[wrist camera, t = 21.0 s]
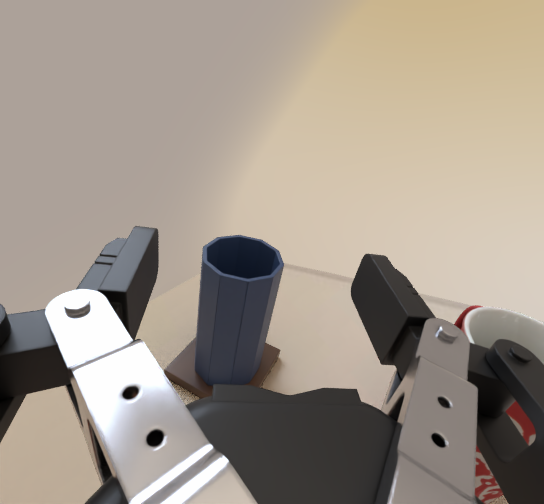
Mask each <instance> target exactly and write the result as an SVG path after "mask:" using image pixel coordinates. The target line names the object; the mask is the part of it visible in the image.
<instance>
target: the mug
mask: <svg viewBox="0 0 544 504" xmlns="http://www.w3.org/2000/svg"><path fill="white" fill-rule="evenodd" d="M454 325H455V326H457V327H458V328H459V329H460V330H462V331H463V332H464V333H465V335H466V336H467V337H468V339H469V342H470V343H473V344H476V345H480V346H483V347H486V348H489V349H490V347H491V346H492V345H493V344H494V342H495V341H496V340H498V339H506V340H510V341H513V342H516V343H518V344H520V345H522V346H523V347H525V348H527V349H528V350H529V351H531V352H532V353H533V354H534V355H535V356H536V357H537V358H538V359H539V360H540V361H541V362H542V363H543V364H544V323H543V322H541V321H539V320H536V319H534V318H532V317H529V316H527V315H524V314H521V313H518V312H514V311H511V310H508V309H503V308H497V307H483V306H470V307H468V308H467V309H466V310H465V311H464V312H463V313H462V314H461V315H460V316H459V317H458V319H457V321H456V322H455V324H454ZM506 413H507V414H508V416H509V417H510V419H511V420H512V421H513V423H514V424H515V426H516V427H517V429H518V430H519V432H520V433H521V435H522V436H523V438H524V439H525V441H526V442H527V444H528V445H529V446H530V445H531V444H532V443H533V442H534V440H535V438H536V432H535V428H534V426H533V424H532V422H531V421H530V419H529V418H528V417H527V415H526V414H525V413H524V411H523V410H522V408H521V407H520V406H519V404H518V403H517V402H516V401H515V402H514V403H513V404H512V405H511V406H510V407H509V408H508V409H507V410H506ZM475 495H476V496H477V497H478V498H479V499H480V500H481V501H482V502H483V503H484V504H489V503H491V502H493V501H494V500H496V499H497V498H499V497H500V496H502V495H504V494H503V493H502V491H501V489H500V487H499V485H498V483H497V482H496V480H495V478H494V476H493V474H492V472H491V471H490V469H489V467H488V465H487V463H486V461H485V460H484V458H483V456H482V454H481V452H480V450H479V449H478V447H477V445H476V470H475Z"/></svg>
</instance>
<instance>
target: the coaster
mask: <svg viewBox="0 0 544 504" xmlns="http://www.w3.org/2000/svg"><path fill="white" fill-rule="evenodd" d="M195 347H196V338H195V339H194V340H193V341H192V342H191V343H190V344H189V345H188V346H187V347H186V348H185V349H184V350H183V351H182V352H181V353H180V354H179V355H178V356H177V357H176V358H175V359H174V360H173V361H172V362H171V363H170V364H169V366H168V367H167V368H166V369H165V370H164V374H165V375H166V377H167V378H168V379H169V380H171V381H173V382H174V383H176V384H178V385H180V386H181V387H183V388H185V389H186V390H188V391H190V392H191V393H193V394H195V395H197V396H198V397H200V398H205V397H209V396H212V391H213V386H211V385H208V384H207V383H206V382H205V381H204V380H203V379H202V378H201V377H200V375H199V374H198V373H197V372H196V371H195ZM279 353H280V350H279V349H277V348H275V347H273V346H271V345H269V344H267V343H265V346H264V350H263V354H262V358H261V362H260V366H259V369H258V370H257V372H256V373H255V375H254V376H253V378H252V380H251V381H250V382H249V383H247V384H244V385H252V386H255V387H259V388H260V387H261V385H262V384H263V382H264V380H265V379H266V377H267V375H268V373H269V372H270V370H271V368H272V367H273V365H274V363H275V362H276V360H277V358H278V356H279Z"/></svg>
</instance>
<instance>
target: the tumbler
mask: <svg viewBox="0 0 544 504" xmlns="http://www.w3.org/2000/svg"><path fill="white" fill-rule="evenodd" d="M283 267H284V263H283V261H282V258H281V255H280V253H279V251H278V250H277V249H275V248H274V247H272V246H271V245H269V244H267V243H266V242H264V241H263V240H260V239H255V238H251V237H246V236H242V235H235V236H225V237H217V238H216V239H214V240H213V241H211V242H210V243H208V244H207V245H205V246H204V247H203V254H202V267H201V280H200V294H199V307H198V320H197V333H196V347H195V371H196V372H197V373H198V374H199V375H200V377H201V378H202V379H203V380H204V381H205V382H206V383H207V384H208V385H211V386H213V384H232V385H244V384H247V383H249V382H250V381H251V380H252V378H253V376H254V375H255V373H256V372H257V370H258V369H259V366H260V362H261V358H262V354H263V350H264V346H265V341H266V337H267V333H268V329H269V325H270V321H271V317H272V312H273V308H274V304H275V300H276V296H277V292H278V288H279V284H280V279H281V275H282V271H283Z"/></svg>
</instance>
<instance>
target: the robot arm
mask: <svg viewBox="0 0 544 504" xmlns="http://www.w3.org/2000/svg"><path fill="white" fill-rule="evenodd" d="M157 274H158V229H156V228H149V227H140V226H135V227H134V229H133V230H132V232H131V233H130V235H129V237H128V238H127V239H124V238H117V239H115V240H113V241H112V242H110V243H108V244H107V245H106V246H105V247H104V249H103V250H102V252H101V253H100V256H98V258H97V259H96V261H95V263H94V264H93V265H92V266H91V268H90V269H89V271H88V272H87V274H86V275H85V277H84V278H83V280H82V281H81V283H80V284H79V286H78V287H77V288H76V290H73V291H69V292H66V293H64V294H61V295H59V296H57V297H56V298H54V299H53V300H52V301H51V302H50V303H49V304H48V306H47V308H46V309H43V310H37V311H30V312H23V313H16V314H8V315H7V314H6V311H5V308H4V307H3V306H2V305H1V304H0V442H1V441H2V439H3V437H4V435H5V433H6V431H7V430H8V428H9V426H10V424H11V422H12V420H13V418H14V417H15V415H16V413H17V411H18V409H19V407H20V406H21V404H22V402H23V400H24V398H25V396H26V394H29V393H33V392H38V391H42V390H46V389H51V388H55V387H60V386H65V388H66V391H67V393H68V396H69V398H70V401H71V404H72V406H73V409H74V411H75V414H76V416H77V419H78V421H79V424H80V427H81V429H82V432H83V434H84V437H85V440H86V443H87V446H88V449H89V452H90V455H91V458H92V461H93V464H94V466H95V469H96V472H97V474H98V477H99V480H100V482H101V485H102V486H101V487H100V488H99V489H98V490H97V491H96V492H95V493H94V494H93V495H92V496H91V497H90V498H89V499H88V501H87V502H86V503H85V504H484V503H483V502H482V501H481V500H480V499H479V498H478V497H477V496H476V495H475V470H476V445H477V447H478V449H479V450H480V452H481V454H482V456H483V458H484V460H485V461H486V463H487V465H488V467H489V469H490V471H491V472H492V474H493V476H494V478H495V480H496V482H497V483H498V485H499V487H500V489H501V491H502V493H503V494H504V496H505V498H506V500H507V502H508V504H544V364H543V363H542V362H541V361H540V360H539V359H538V358H537V357H536V356H535V355H534V354H533V353H532V352H531V351H529V350H528V349H527V348H525V347H523V346H522V345H520V344H518V343H516V342H513V341H510V340H506V339H498V340H496V341H495V342H494V344H493V345H492V346H491V347H490V349H489V348H486V347H483V346H480V345H476V344H473V343H470V342H469V339H468V337H467V336H466V335H465V333H464V332H463V331H462V330H460V329H459V328H458V327H457V326H455V325H454V324H452V323H450V322H448V321H446V320H443V319H439V318H436V317H435V316H434V315H433V313H432V312H431V310H430V309H429V308H428V306H427V305H426V304H425V302H424V301H423V299H422V298H421V297H420V295H418V293H417V291H416V290H415V288H413V286H412V284H411V283H410V282H409V280H408V279H407V277H405V276H404V275H403V274H402V273H400V272H399V271H398V270H397V269H395V268H394V267H393V265H392V264H391V262H390V261H389V260H388V258H387V257H386V256H383V255H374V254H365V255H364V257H363V259H362V261H361V264H360V266H359V268H358V271H357V273H356V276H355V278H354V280H353V283H352V286H351V297H352V300H353V302H354V304H355V307H356V309H357V311H358V313H359V316H360V318H361V320H362V322H363V325H364V327H365V329H366V331H367V334H368V336H369V338H370V340H371V342H372V345H373V347H374V349H375V351H376V354H377V356H378V358H379V360H380V363H381V364H382V365H395V366H396V368H397V369H396V371H395V372H394V374H393V376H392V379H391V382H390V385H389V388H388V391H387V393H386V396H385V399H384V402H383V405H382V408H381V410H379V409H377V408H375V407H373V406H371V405H369V404H366V403H364V402H361V400H360V397H359V394H358V392H357V389H339V388H321V389H317V390H313V391H308V392H304V393H300V394H295V395H284V394H281V393H277V392H273V391H270V390H266V389H263V388H259V387H255V386H252V385H232V384H213V391H212V396H209V397H205V398H202V399H199V400H196V401H194V402H192V403H189V404H187V405H185V404H184V403H183V401H182V400H181V398H180V397H179V395H178V394H177V392H176V391H175V389H174V388H173V386H172V384H171V383H170V381H169V380H168V378H167V377H166V375H165V374H164V372H163V371H162V369H161V368H160V366H159V365H158V363H157V362H156V360H155V358H154V357H153V355H152V354H151V352H150V351H149V349H148V348H147V346H146V345H145V343H144V342H143V341H142V340H141V339H137V340H135V337H136V334H137V332H138V329H139V326H140V323H141V321H142V318H143V315H144V312H145V309H146V307H147V304H148V301H149V298H150V296H151V293H152V290H153V287H154V285H155V282H156V278H157ZM515 401H516V402H517V403H518V404H519V406H520V407H521V408H522V410H523V411H524V413H525V414H526V415H527V417H528V418H529V419H530V421H531V422H532V424H533V426H534V428H535V432H536V438H535V440H534V442H533V443H532V444H531V445H530V446H529V445H528V444H527V442H526V441H525V439H524V438H523V436H522V435H521V433H520V432H519V430H518V429H517V427H516V426H515V424H514V423H513V421H512V420H511V419H510V417H509V416H508V414H507V413H506V410H507V409H508V408H509V407H510V406H511V405H512V404H513V403H514V402H515Z"/></svg>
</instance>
